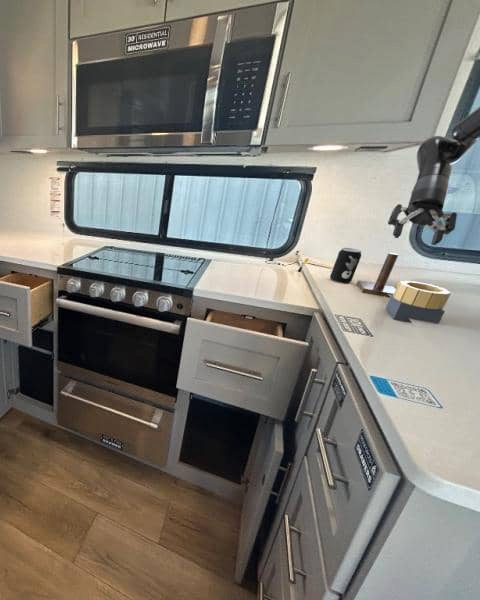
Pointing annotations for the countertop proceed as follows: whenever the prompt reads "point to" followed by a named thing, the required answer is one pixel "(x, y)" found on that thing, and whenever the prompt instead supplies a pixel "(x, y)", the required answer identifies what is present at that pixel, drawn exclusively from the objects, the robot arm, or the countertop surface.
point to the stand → (381, 279)
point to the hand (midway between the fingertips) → (415, 240)
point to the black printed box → (345, 265)
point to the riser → (412, 312)
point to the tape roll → (421, 294)
